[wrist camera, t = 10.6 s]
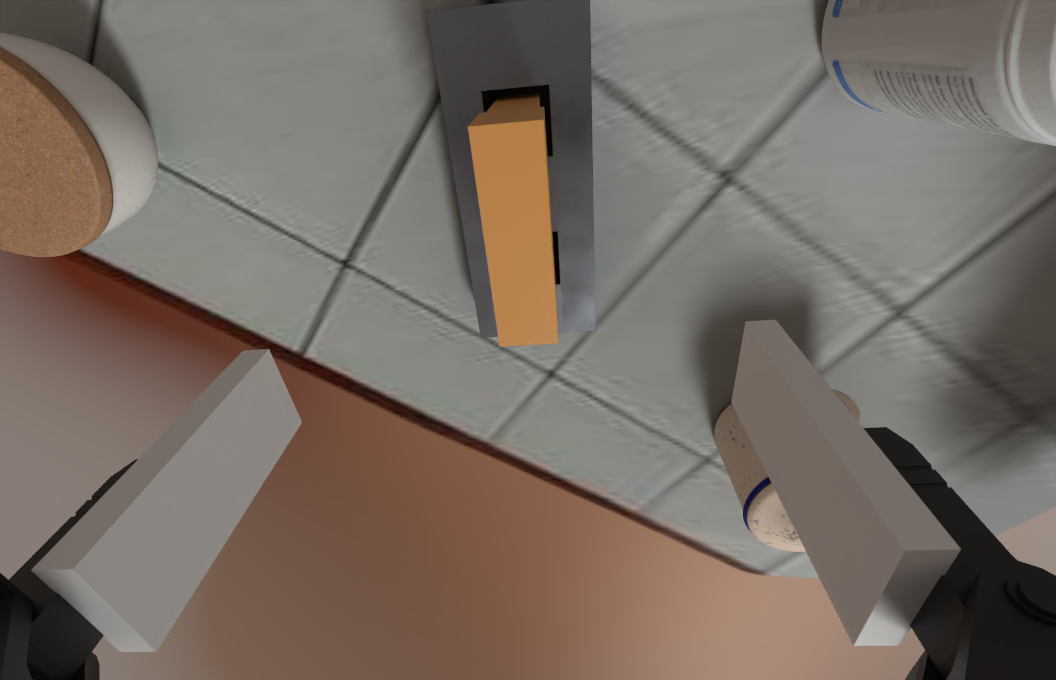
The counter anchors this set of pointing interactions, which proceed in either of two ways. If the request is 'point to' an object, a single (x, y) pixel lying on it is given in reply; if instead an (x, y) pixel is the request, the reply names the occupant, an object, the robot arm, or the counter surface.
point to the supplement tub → (949, 61)
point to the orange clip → (516, 217)
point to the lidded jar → (66, 151)
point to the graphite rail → (565, 64)
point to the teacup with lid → (758, 481)
